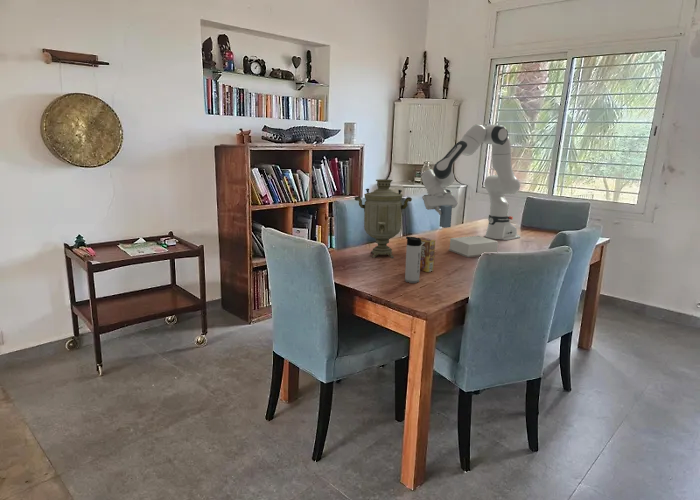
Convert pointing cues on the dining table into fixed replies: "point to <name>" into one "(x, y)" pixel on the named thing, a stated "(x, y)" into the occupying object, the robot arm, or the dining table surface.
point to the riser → (472, 245)
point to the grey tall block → (445, 216)
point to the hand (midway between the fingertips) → (445, 213)
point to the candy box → (427, 254)
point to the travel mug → (413, 259)
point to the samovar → (382, 215)
